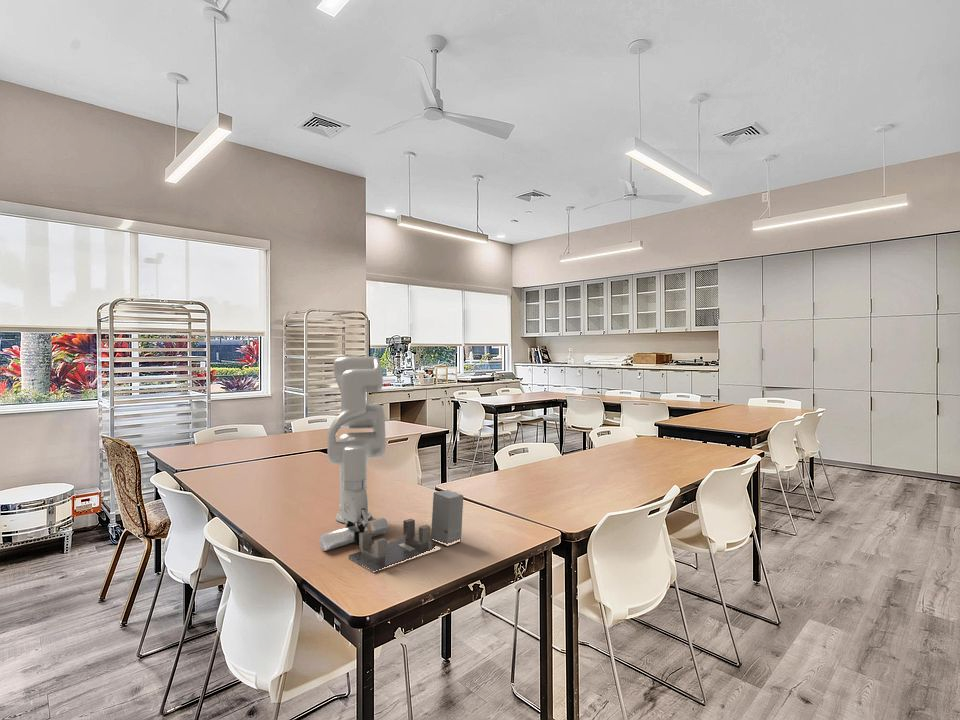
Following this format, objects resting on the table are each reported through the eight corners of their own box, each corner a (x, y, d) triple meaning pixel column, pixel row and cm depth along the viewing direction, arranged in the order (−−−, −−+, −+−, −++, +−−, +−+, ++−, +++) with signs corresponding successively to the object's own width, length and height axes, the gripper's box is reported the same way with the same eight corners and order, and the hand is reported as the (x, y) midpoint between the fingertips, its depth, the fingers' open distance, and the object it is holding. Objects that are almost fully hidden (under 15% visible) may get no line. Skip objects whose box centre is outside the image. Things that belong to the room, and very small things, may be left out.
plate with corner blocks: (348, 558, 152) (348, 533, 152) (413, 537, 168) (413, 515, 168) (374, 573, 142) (373, 546, 142) (440, 549, 158) (440, 525, 158)
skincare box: (430, 540, 166) (430, 492, 166) (447, 535, 171) (446, 488, 171) (447, 548, 160) (447, 497, 160) (464, 542, 165) (464, 493, 165)
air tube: (327, 553, 156) (327, 536, 155) (319, 548, 159) (319, 532, 159) (388, 534, 171) (388, 519, 171) (380, 531, 174) (379, 516, 174)
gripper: (331, 481, 168) (331, 535, 169) (358, 492, 156) (358, 550, 156) (351, 477, 173) (352, 530, 174) (379, 487, 161) (379, 544, 161)
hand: (355, 539), depth 165 cm, fingers closed on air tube, 5 cm apart
